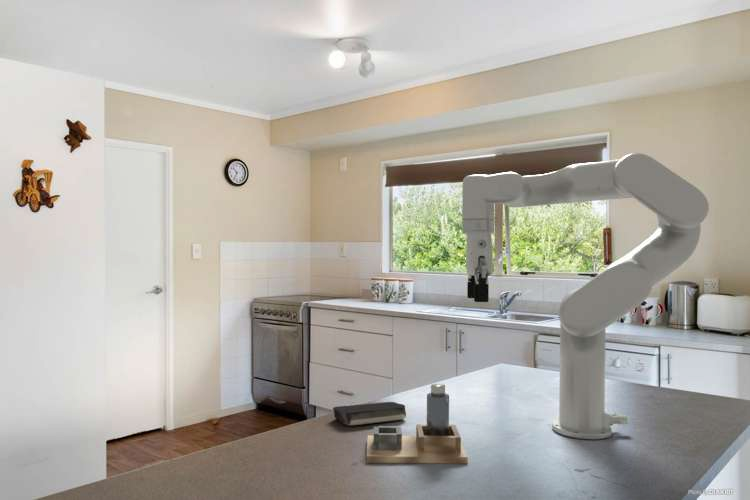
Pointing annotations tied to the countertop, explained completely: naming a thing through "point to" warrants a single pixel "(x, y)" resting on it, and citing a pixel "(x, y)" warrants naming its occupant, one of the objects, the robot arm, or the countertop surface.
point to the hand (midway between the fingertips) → (477, 299)
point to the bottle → (437, 411)
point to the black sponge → (369, 413)
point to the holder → (414, 446)
